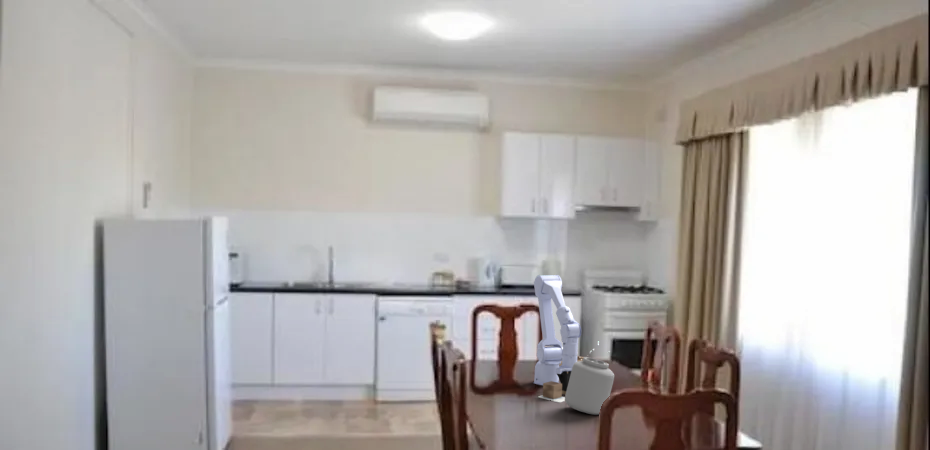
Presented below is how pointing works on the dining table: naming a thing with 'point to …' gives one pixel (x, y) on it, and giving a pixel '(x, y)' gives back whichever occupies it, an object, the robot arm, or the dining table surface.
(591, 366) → the jar
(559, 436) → the dining table surface
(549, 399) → the white flat plate
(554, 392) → the walnut block
